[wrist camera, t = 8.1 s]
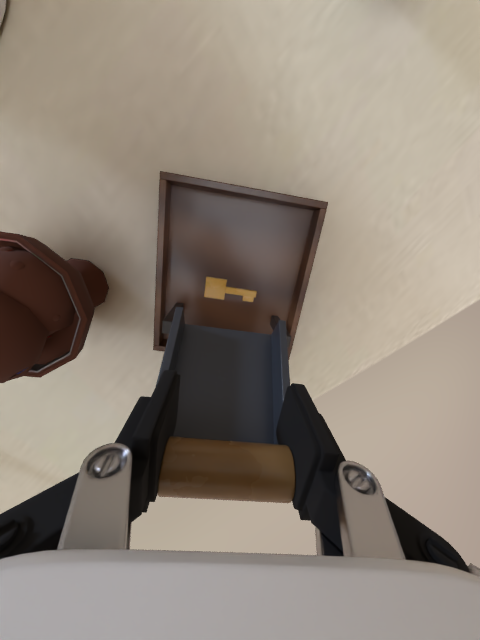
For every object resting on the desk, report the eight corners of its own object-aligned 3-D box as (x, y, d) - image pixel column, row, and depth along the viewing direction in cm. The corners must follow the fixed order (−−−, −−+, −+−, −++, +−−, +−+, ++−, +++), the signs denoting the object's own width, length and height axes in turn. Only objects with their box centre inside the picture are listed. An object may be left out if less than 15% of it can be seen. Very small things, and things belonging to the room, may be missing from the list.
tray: (166, 177, 22) (143, 154, 16) (318, 205, 24) (350, 194, 18) (159, 340, 28) (140, 370, 22) (282, 354, 29) (297, 386, 23)
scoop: (178, 326, 21) (169, 253, 14) (275, 338, 22) (312, 274, 15) (141, 484, 15) (90, 495, 8) (281, 492, 16) (351, 508, 8)
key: (206, 276, 25) (206, 276, 25) (203, 297, 25) (204, 296, 26) (258, 284, 25) (257, 284, 26) (254, 304, 26) (254, 303, 26)
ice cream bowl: (111, 220, 23) (-65, 194, 9) (145, 323, 27) (57, 417, 13) (7, 239, 23) (-325, 243, 9) (56, 339, 27) (-129, 450, 13)
